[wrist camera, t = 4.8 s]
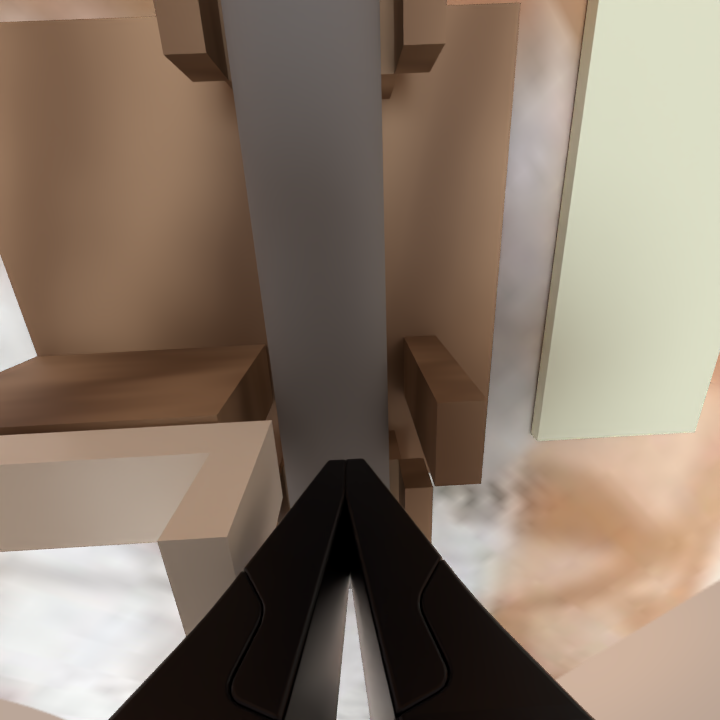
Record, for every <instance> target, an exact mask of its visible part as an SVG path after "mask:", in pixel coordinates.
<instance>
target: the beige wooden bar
mask: <svg viewBox="0 0 720 720" xmlns="http://www.w3.org/2000/svg"><path fill="white" fill-rule="evenodd" d="M282 499H283V495H282V488H281V481H280V474H279V467H278V460H277V453H276V446H275V439H274V432H273V426H272V420H266V421H249V422H231V423H213V424H195V425H177V426H159V427H142V428H124V429H106V430H88V431H70V432H53V433H35V434H17V435H0V552H5V551H22V550H38V549H54V548H71V547H87V546H103V545H120V544H136V543H152V542H158V545H159V549H160V552H161V555H162V558H163V562H164V565H165V568H166V572H167V575H168V578H169V582H170V585H171V588H172V591H173V595H174V598H175V601H176V605H177V608H178V611H179V615H180V618H181V621H182V624H183V628H184V631H185V634H186V636H187V635H188V634H189V633H190V632H191V631H192V630H193V629H194V628H195V626H196V625H197V624H198V623H199V622H200V621H201V620H202V619H203V618H204V617H205V615H206V614H207V613H208V612H209V611H210V609H211V608H212V607H213V606H214V605H215V603H216V602H217V601H218V600H219V598H220V597H221V596H222V595H223V594H224V592H225V591H226V590H227V589H228V588H229V586H230V585H231V584H232V582H233V581H234V580H235V579H236V577H237V576H238V575H239V573H240V572H242V571H244V567H245V566H246V565H247V564H248V562H249V561H250V560H251V558H252V557H253V556H254V555H255V553H256V552H257V551H258V550H259V548H260V547H261V546H262V544H263V543H264V542H265V541H266V539H267V538H268V537H269V535H270V534H271V533H272V532H273V530H274V529H275V528H276V525H277V520H278V516H279V512H280V507H281V503H282Z"/></svg>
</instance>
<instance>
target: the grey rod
mask: <svg viewBox="0 0 720 720" xmlns="http://www.w3.org/2000/svg"><path fill="white" fill-rule="evenodd" d="M221 6H222V14H223V21H224V28H225V36H226V43H227V50H228V58H229V65H230V72H231V79H232V87H233V94H234V101H235V109H236V116H237V123H238V131H239V138H240V145H241V153H242V160H243V167H244V174H245V182H246V189H247V196H248V204H249V211H250V218H251V226H252V233H253V240H254V247H255V255H256V262H257V269H258V277H259V284H260V291H261V299H262V306H263V313H264V321H265V328H266V335H267V342H268V350H269V357H270V364H271V372H272V379H273V386H274V394H275V401H276V408H277V415H278V423H279V430H280V437H281V445H282V452H283V459H284V467H285V474H286V481H287V488H288V496H289V503H290V509H291V507H292V506H293V505H294V503H295V502H296V501H297V500H298V498H299V497H300V496H301V495H302V493H303V492H304V491H305V489H306V488H307V487H308V486H309V484H310V483H311V482H312V480H313V479H314V478H315V477H316V475H317V474H318V473H319V472H320V470H321V469H322V468H323V466H324V465H325V464H326V463H327V461H329V460H339V459H345V460H347V459H357V458H363V459H365V461H366V462H367V463H368V464H369V466H370V467H371V468H372V469H373V471H374V472H375V473H376V474H377V476H378V477H379V478H380V479H381V481H382V482H383V483H384V485H385V486H386V487H387V488H388V490H389V491H390V478H389V430H388V381H387V333H386V285H385V237H384V189H383V140H382V92H381V44H380V0H221ZM351 588H352V585H351V578H350V581H349V589H351Z"/></svg>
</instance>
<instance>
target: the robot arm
mask: <svg viewBox="0 0 720 720" xmlns="http://www.w3.org/2000/svg"><path fill="white" fill-rule="evenodd" d="M350 578H351V585H352V592H353V599H354V606H355V613H356V620H357V628H358V635H359V642H360V649H361V656H362V663H363V670H364V677H365V684H366V692H367V699H368V706H369V713H370V720H595V719H594V718H592V716H591V715H589V714H588V712H586V711H585V710H584V709H583V708H582V707H581V706H580V705H579V704H578V703H577V702H576V701H575V700H574V699H573V698H572V697H571V696H570V695H569V694H568V693H567V692H566V691H565V690H564V689H563V688H562V687H561V686H560V685H559V684H558V682H556V680H555V679H554V678H553V677H552V676H551V675H550V674H549V673H548V672H547V671H546V670H545V669H544V668H543V667H542V666H541V665H540V664H539V663H538V662H537V661H536V660H535V659H534V658H533V657H532V656H531V655H530V654H529V653H528V652H527V651H526V650H525V649H524V648H523V647H522V646H521V645H520V644H519V643H518V642H517V641H516V640H515V639H514V638H513V637H512V636H511V635H510V634H509V633H508V632H507V631H506V630H505V629H504V628H503V627H502V626H501V625H500V624H499V622H498V621H497V620H496V619H495V618H494V617H493V616H492V615H491V614H490V613H489V612H488V611H487V610H486V609H485V608H484V607H483V606H482V605H481V603H480V602H479V601H478V600H477V599H476V598H475V597H474V596H473V594H472V593H471V592H470V591H469V590H468V588H467V587H466V586H465V585H464V584H463V583H462V581H461V580H460V579H459V578H458V577H457V575H456V574H455V573H454V571H453V570H452V569H451V568H450V566H449V565H448V564H447V563H446V561H445V560H442V557H441V555H440V554H439V553H438V551H437V550H436V549H435V548H434V546H433V545H432V544H431V543H430V541H429V540H428V539H427V538H426V536H425V535H424V534H423V533H422V531H421V530H420V529H419V527H418V526H417V525H416V524H415V522H414V521H413V520H412V519H411V517H410V516H409V515H408V514H407V512H406V511H405V510H404V509H403V507H402V506H401V505H400V503H399V502H398V501H397V500H396V498H395V497H394V496H393V495H392V493H391V492H390V491H389V490H388V488H387V487H386V486H385V485H384V483H383V482H382V481H381V479H380V478H379V477H378V476H377V474H376V473H375V472H374V471H373V469H372V468H371V467H370V466H369V464H368V463H367V462H366V461H365V459H363V458H357V459H347V460H345V459H339V460H329V461H327V463H326V464H325V465H324V466H323V468H322V469H321V470H320V472H319V473H318V474H317V475H316V477H315V478H314V479H313V480H312V482H311V483H310V484H309V486H308V487H307V488H306V489H305V491H304V492H303V493H302V495H301V496H300V497H299V498H298V500H297V501H296V502H295V503H294V505H293V506H292V507H291V509H290V510H289V511H288V512H287V514H286V515H285V516H284V518H283V519H282V520H281V521H280V523H279V524H278V525H277V526H276V528H275V529H274V530H273V532H272V533H271V534H270V535H269V537H268V538H267V539H266V541H265V542H264V543H263V544H262V546H261V547H260V548H259V550H258V551H257V552H256V553H255V555H254V556H253V557H252V558H251V560H250V561H249V562H248V564H247V565H246V566H245V567H244V571H242V572H240V573H239V575H238V576H237V577H236V579H235V580H234V581H233V582H232V584H231V585H230V586H229V588H228V589H227V590H226V591H225V592H224V594H223V595H222V596H221V597H220V598H219V600H218V601H217V602H216V603H215V605H214V606H213V607H212V608H211V609H210V611H209V612H208V613H207V614H206V615H205V617H204V618H203V619H202V620H201V621H200V622H199V623H198V624H197V625H196V626H195V628H194V629H193V630H192V631H191V632H190V633H189V634H188V635H187V636H186V637H185V639H184V640H183V641H182V642H181V643H180V644H179V645H178V646H177V647H176V648H175V650H174V651H173V652H172V653H171V654H170V655H169V656H168V657H167V658H166V659H165V660H164V661H163V662H162V663H161V664H160V665H159V666H158V668H157V669H156V670H155V671H154V672H153V673H152V674H151V675H150V676H149V677H148V678H147V679H146V680H145V681H144V682H143V683H142V684H141V686H140V687H139V688H138V689H137V690H136V691H135V692H134V693H133V694H132V695H131V696H130V697H129V698H128V699H127V700H126V701H125V702H124V704H123V705H122V706H121V707H120V708H119V709H118V710H117V711H116V712H115V713H114V714H113V715H112V716H111V717H110V718H109V719H108V720H336V715H337V705H338V695H339V684H340V674H341V664H342V653H343V643H344V632H345V622H346V612H347V601H348V591H349V581H350Z"/></svg>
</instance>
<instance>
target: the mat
mask: <svg viewBox="0 0 720 720" xmlns="http://www.w3.org/2000/svg"><path fill="white" fill-rule="evenodd" d="M719 351H720V0H588V4H587V12H586V20H585V27H584V35H583V42H582V50H581V58H580V65H579V73H578V80H577V88H576V96H575V103H574V111H573V118H572V126H571V134H570V141H569V149H568V156H567V164H566V171H565V179H564V187H563V194H562V202H561V209H560V217H559V225H558V232H557V240H556V247H555V255H554V263H553V270H552V278H551V285H550V293H549V301H548V308H547V316H546V323H545V331H544V339H543V346H542V354H541V361H540V369H539V377H538V384H537V392H536V399H535V407H534V415H533V422H532V430H531V435H532V436H533V437H534V438H535V439H536V440H537V441H552V440H569V439H586V438H603V437H621V436H638V435H655V434H673V433H690V432H695V430H696V427H697V423H698V420H699V417H700V414H701V410H702V407H703V404H704V400H705V397H706V394H707V391H708V387H709V384H710V381H711V378H712V374H713V371H714V368H715V365H716V361H717V358H718V355H719Z"/></svg>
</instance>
